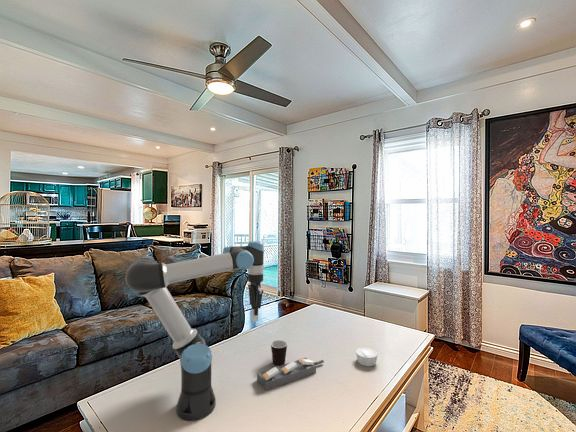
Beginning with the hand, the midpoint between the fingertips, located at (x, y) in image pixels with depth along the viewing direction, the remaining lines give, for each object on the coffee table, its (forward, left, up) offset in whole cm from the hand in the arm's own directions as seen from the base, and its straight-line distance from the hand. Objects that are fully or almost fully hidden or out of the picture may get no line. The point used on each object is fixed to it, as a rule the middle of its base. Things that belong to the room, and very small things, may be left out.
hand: (254, 321), depth 139 cm
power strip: (+17, -10, -26) cm, 33 cm away
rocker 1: (+3, -12, -21) cm, 24 cm away
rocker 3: (+23, -12, -21) cm, 33 cm away
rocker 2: (+13, -12, -21) cm, 27 cm away
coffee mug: (+16, +4, -26) cm, 31 cm away
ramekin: (+56, -20, -27) cm, 65 cm away
